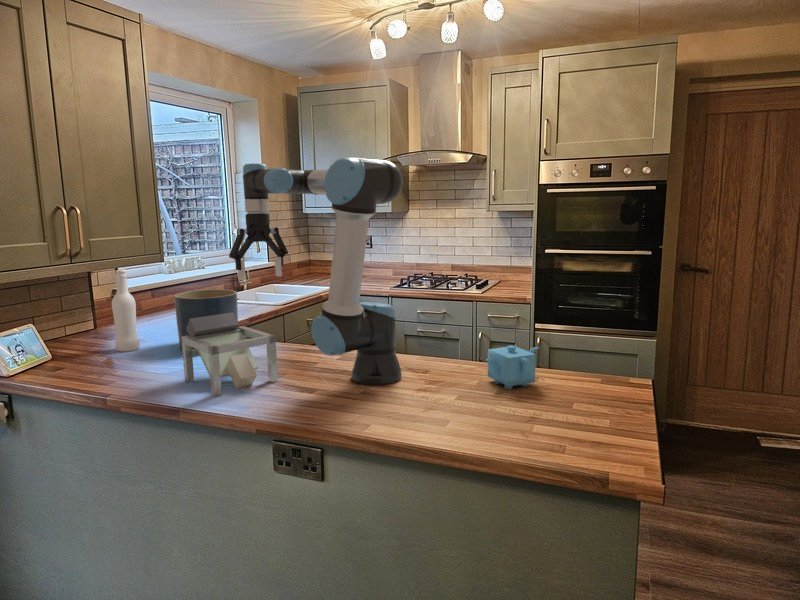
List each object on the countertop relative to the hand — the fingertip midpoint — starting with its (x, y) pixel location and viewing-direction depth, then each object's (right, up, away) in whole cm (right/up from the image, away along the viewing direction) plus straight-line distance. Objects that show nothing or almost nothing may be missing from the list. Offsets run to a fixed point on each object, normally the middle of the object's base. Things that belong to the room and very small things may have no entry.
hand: (260, 278), depth 183 cm
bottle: (-56, -26, +24) cm, 66 cm away
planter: (-27, -25, +29) cm, 46 cm away
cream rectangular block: (-3, -25, -19) cm, 31 cm away
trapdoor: (-9, -23, -12) cm, 28 cm away
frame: (-5, -32, -15) cm, 36 cm away
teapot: (+79, -32, -21) cm, 88 cm away
